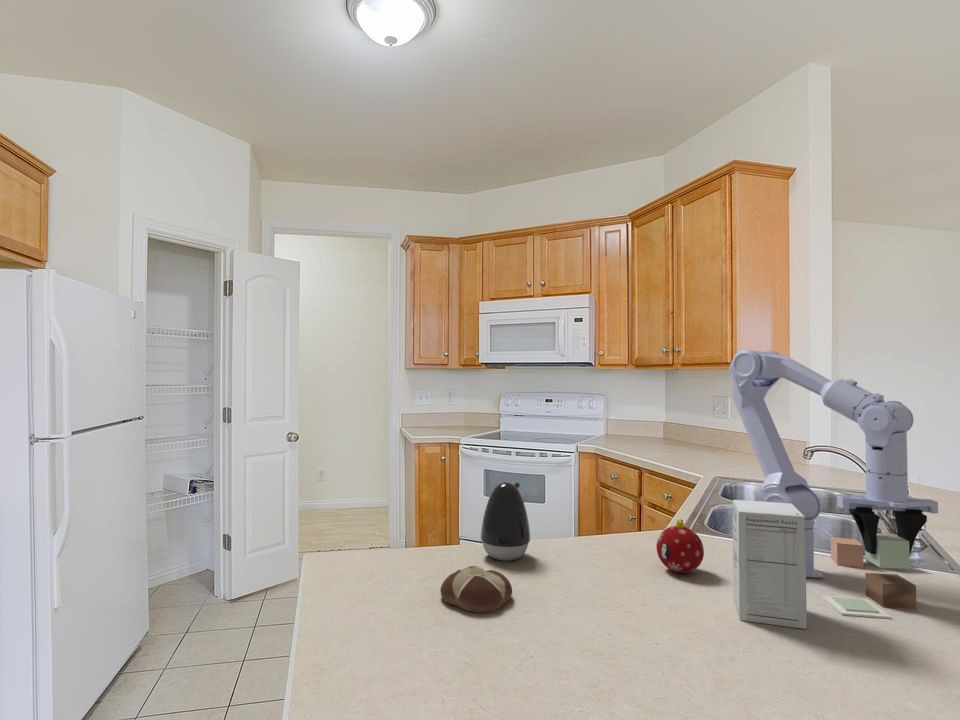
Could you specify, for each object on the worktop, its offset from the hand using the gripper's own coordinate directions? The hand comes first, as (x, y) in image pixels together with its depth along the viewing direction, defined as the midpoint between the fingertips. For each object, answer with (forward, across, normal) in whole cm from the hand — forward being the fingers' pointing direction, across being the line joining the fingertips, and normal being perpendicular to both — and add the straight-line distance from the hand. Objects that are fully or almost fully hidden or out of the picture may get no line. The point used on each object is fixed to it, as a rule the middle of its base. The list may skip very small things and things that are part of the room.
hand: (887, 553), depth 92 cm
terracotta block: (+8, +3, +20) cm, 22 cm away
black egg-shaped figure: (+8, -66, +10) cm, 67 cm away
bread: (+8, -68, -12) cm, 70 cm away
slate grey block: (+8, +10, +20) cm, 24 cm away
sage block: (+2, 0, 0) cm, 2 cm away
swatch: (+8, -7, -4) cm, 11 cm away
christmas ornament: (+8, -32, +8) cm, 34 cm away
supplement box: (+8, -22, -9) cm, 25 cm away
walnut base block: (+8, 0, 0) cm, 8 cm away
